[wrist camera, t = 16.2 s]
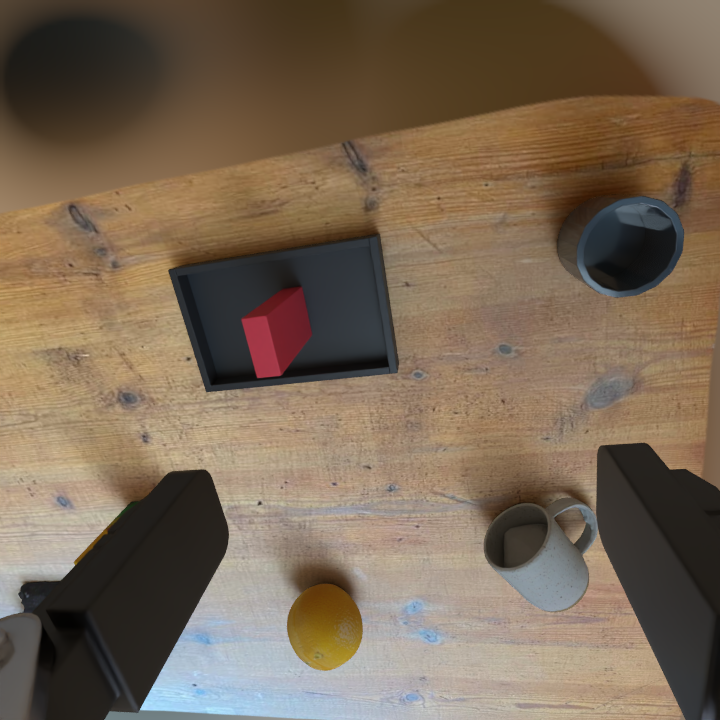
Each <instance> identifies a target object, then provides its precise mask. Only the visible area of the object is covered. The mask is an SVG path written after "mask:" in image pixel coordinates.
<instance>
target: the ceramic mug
mask: <svg viewBox="0 0 720 720" xmlns="http://www.w3.org/2000/svg"><path fill="white" fill-rule="evenodd" d="M573 507H577V508H579V510H580V511H581V513H582V515H583V518H584V521H585V522H586V525H585V529H584V531H583V533H582V535H581V537H580V538H579V539H578V540H577V541H576V542H575V543H574V544H573V543H572V542H571V541H570V540H569V538H568V537H567V536H566V535H565V533H564V532H563V530H562V529H561V528H560V526H559V525H558V524H557V522H556V521H555V520H554V518H555V517H556V516H557V515H558V514H560V513H562V512H563V511H565V510H567V509H570V508H573ZM597 531H598V524H597V519H596V516H595V514H594V513H593V511H592V510H591V508H590V507H589V506H587V505H586V504H584V503H583V502H581V501H579V500H577V499H575V498H562V499H559V500H557V501H555V502H553V503H552V504H550V505H549V506H547V507H546V508H545V509H544V508H543V507H541V506H539V505H537V504H533V503H522V504H518V505H515V506H512V507H510V508H508V509H507V510H505V511H504V512H502V513H501V514H500V515H499V516H497V517H496V518H495V519H494V521H493V522H492V523H491V525H490V526H489V528H488V530H487V532H486V535H485V539H484V553H485V557H486V559H487V561H488V563H489V564H490V565H491V567H492V568H493V569H494V570H495V571H497V572H498V573H499V574H500V575H501V576H502V577H503V578H504V579H505V580H506V581H507V582H508V583H509V584H510V585H511V586H512V587H514V588H515V589H516V590H517V591H518V592H519V593H520V594H521V595H522V596H523V597H524V598H525V599H526V600H527V601H528V602H530V603H531V604H533V605H534V606H536V607H538V608H540V609H541V610H544V611H547V612H561V611H565V610H568V609H570V608H572V607H573V606H574V605H576V604H577V603H578V602H579V601H580V600H581V599H582V597H583V596H584V594H585V593H586V590H587V587H588V583H589V572H588V568H587V565H586V563H585V561H584V559H583V557H582V555H583V554H584V553H585V552H586V551H587V550H588V549H589V548H590V546H591V545H592V544H593V542H594V540H595V538H596V536H597Z"/></svg>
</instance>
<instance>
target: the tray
mask: <svg viewBox="0 0 720 720" xmlns="http://www.w3.org/2000/svg"><path fill="white" fill-rule="evenodd" d="M168 271H169V274H170V277H171V280H172V284H173V287H174V290H175V293H176V296H177V300H178V303H179V306H180V309H181V312H182V316H183V319H184V322H185V325H186V328H187V332H188V335H189V338H190V341H191V344H192V348H193V351H194V354H195V357H196V360H197V364H198V367H199V370H200V373H201V376H202V380H203V383H204V386H205V389H206V392H212V391H223V390H233V389H243V388H253V387H263V386H273V385H283V384H293V383H303V382H313V381H323V380H332V379H342V378H352V377H362V376H372V375H382V374H392V373H397V372H398V366H399V361H398V354H397V347H396V340H395V334H394V327H393V320H392V314H391V307H390V300H389V293H388V287H387V280H386V273H385V266H384V260H383V253H382V246H381V239H380V234H373V235H367V236H361V237H355V238H349V239H342V240H336V241H330V242H324V243H318V244H312V245H305V246H299V247H293V248H287V249H281V250H274V251H268V252H262V253H256V254H250V255H243V256H237V257H231V258H225V259H219V260H213V261H206V262H200V263H194V264H188V265H182V266H178V267H175V268H172V269H169V270H168ZM300 286H302V289H303V294H304V298H305V303H306V308H307V312H308V317H309V321H310V326H311V331H312V336H311V337H310V338H309V340H308V341H307V342H306V344H305V345H304V346H303V348H302V349H301V350H300V352H299V353H298V354H297V355H296V357H295V358H294V359H293V361H292V362H291V363H290V365H289V366H288V367H287V368H286V370H285V371H284V372H283V374H282V375H281V376H273V377H263V378H257V376H256V372H255V368H254V365H253V361H252V357H251V353H250V350H249V346H248V342H247V339H246V335H245V331H244V327H243V324H242V320H241V319H242V318H243V317H244V316H246V315H247V314H249V313H250V312H251V311H253V310H254V309H256V308H257V307H258V306H260V305H261V304H262V303H264V302H265V301H267V300H268V299H269V298H271V297H272V296H273V295H275V294H276V293H278V292H279V291H280V290H282V289H286V288H293V287H300Z"/></svg>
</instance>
